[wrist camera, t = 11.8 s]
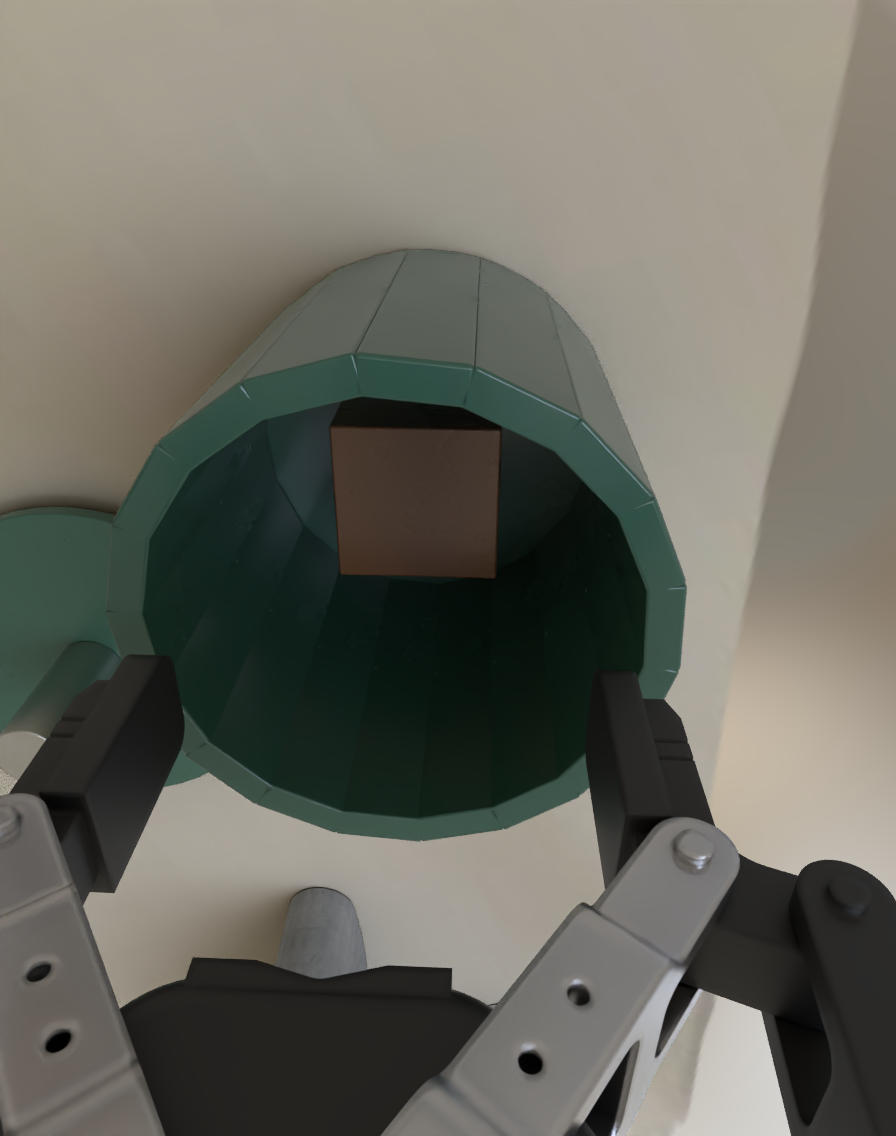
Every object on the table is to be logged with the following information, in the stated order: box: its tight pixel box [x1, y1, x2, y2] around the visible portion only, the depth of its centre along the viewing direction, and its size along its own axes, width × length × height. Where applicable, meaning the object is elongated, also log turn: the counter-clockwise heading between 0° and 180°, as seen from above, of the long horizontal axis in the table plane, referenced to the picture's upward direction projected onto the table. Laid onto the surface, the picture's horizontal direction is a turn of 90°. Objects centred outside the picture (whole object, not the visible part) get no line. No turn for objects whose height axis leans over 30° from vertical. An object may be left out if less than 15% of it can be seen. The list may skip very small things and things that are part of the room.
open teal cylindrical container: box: [105, 249, 687, 841], centre depth 22 cm, size 12×12×12 cm
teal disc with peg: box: [0, 507, 208, 787], centre depth 29 cm, size 13×13×6 cm
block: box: [329, 397, 502, 578], centre depth 24 cm, size 5×5×5 cm
